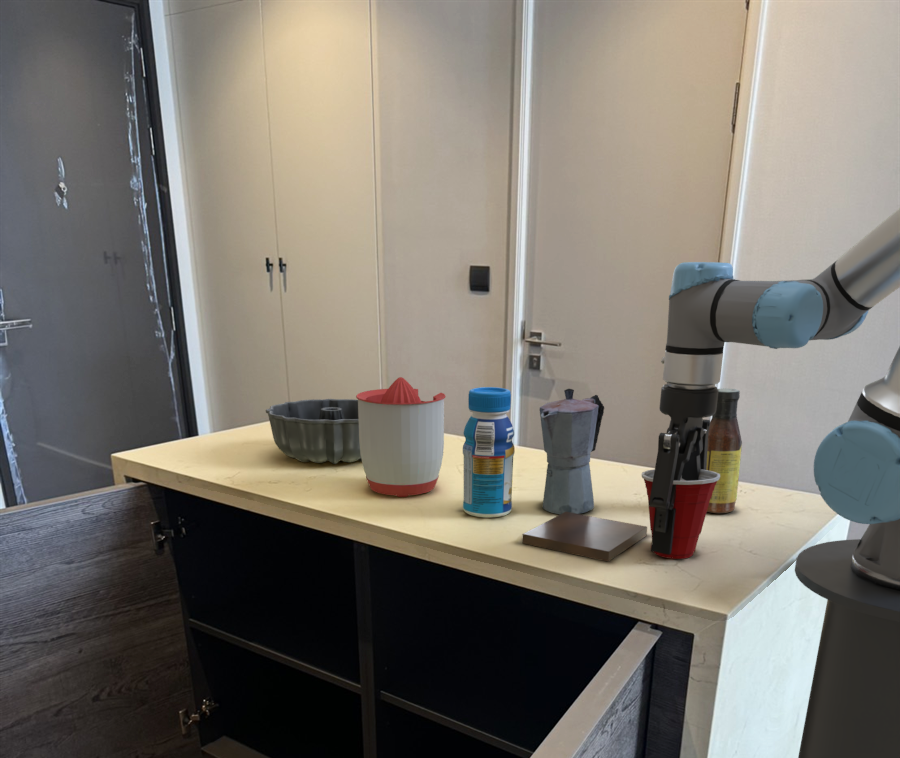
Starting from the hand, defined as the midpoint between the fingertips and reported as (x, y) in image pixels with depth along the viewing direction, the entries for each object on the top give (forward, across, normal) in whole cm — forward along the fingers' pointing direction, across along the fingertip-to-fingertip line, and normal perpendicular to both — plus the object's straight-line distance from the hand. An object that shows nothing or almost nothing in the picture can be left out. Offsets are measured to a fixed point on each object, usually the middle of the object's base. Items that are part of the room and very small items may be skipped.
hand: (673, 543), depth 125 cm
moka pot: (+2, -12, -23) cm, 26 cm away
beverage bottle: (+2, -2, -33) cm, 33 cm away
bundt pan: (+2, -18, -81) cm, 83 cm away
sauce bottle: (+2, -25, -2) cm, 25 cm away
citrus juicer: (+2, -6, -53) cm, 53 cm away
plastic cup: (+2, 0, 0) cm, 2 cm away
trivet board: (+1, +2, -13) cm, 13 cm away
